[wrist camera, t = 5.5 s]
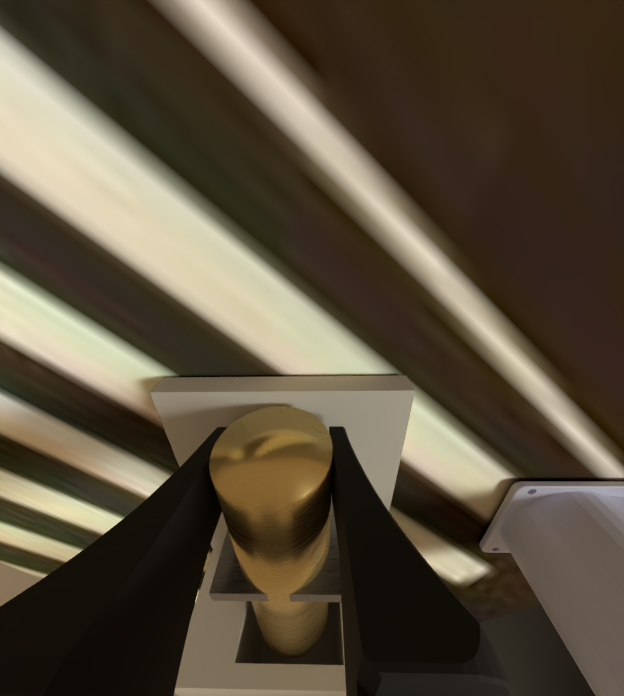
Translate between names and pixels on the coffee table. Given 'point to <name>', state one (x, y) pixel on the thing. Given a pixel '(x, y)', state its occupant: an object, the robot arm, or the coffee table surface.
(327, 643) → the housing
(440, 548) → the coffee table surface
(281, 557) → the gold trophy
